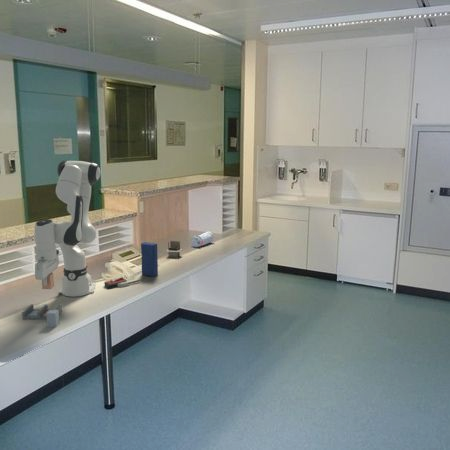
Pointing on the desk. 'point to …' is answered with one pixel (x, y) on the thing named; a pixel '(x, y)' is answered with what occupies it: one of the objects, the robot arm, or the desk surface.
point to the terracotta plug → (49, 282)
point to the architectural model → (174, 249)
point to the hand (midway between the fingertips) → (47, 282)
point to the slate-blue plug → (52, 318)
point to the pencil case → (202, 239)
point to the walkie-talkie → (118, 282)
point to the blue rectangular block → (149, 259)
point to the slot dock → (38, 312)
